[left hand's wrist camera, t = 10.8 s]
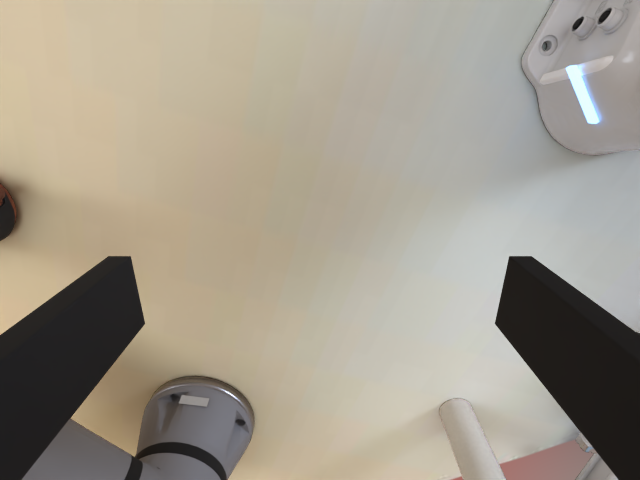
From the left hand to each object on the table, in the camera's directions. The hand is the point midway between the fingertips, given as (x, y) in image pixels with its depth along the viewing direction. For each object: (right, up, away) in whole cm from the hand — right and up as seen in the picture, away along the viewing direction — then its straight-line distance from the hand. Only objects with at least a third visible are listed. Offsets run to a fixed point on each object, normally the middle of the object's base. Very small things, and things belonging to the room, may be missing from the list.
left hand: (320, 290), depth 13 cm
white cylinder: (+19, -22, +38) cm, 48 cm away
